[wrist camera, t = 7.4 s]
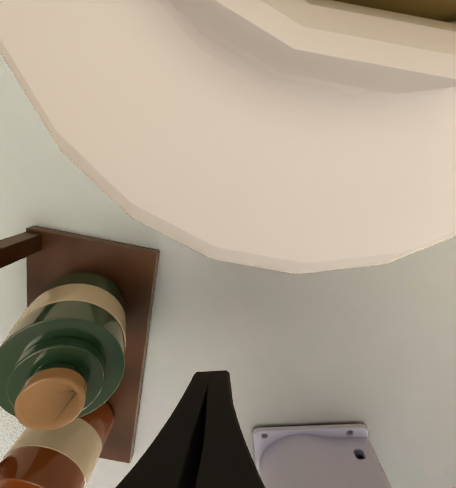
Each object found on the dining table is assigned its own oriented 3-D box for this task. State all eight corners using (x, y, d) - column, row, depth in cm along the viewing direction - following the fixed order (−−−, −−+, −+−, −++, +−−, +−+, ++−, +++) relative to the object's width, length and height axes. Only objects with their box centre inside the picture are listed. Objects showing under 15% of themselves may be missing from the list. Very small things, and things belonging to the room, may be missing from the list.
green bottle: (117, 263, 19) (110, 324, 11) (133, 335, 21) (136, 431, 13) (21, 282, 17) (-65, 369, 10) (46, 358, 19) (-10, 486, 11)
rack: (34, 225, 19) (-53, 251, 14) (159, 250, 20) (126, 286, 14) (35, 436, 25) (-26, 517, 19) (133, 454, 25) (101, 540, 19)
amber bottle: (105, 385, 22) (27, 522, 14) (121, 438, 24) (60, 587, 15) (37, 389, 22) (-79, 523, 14) (57, 441, 24) (-35, 587, 16)
